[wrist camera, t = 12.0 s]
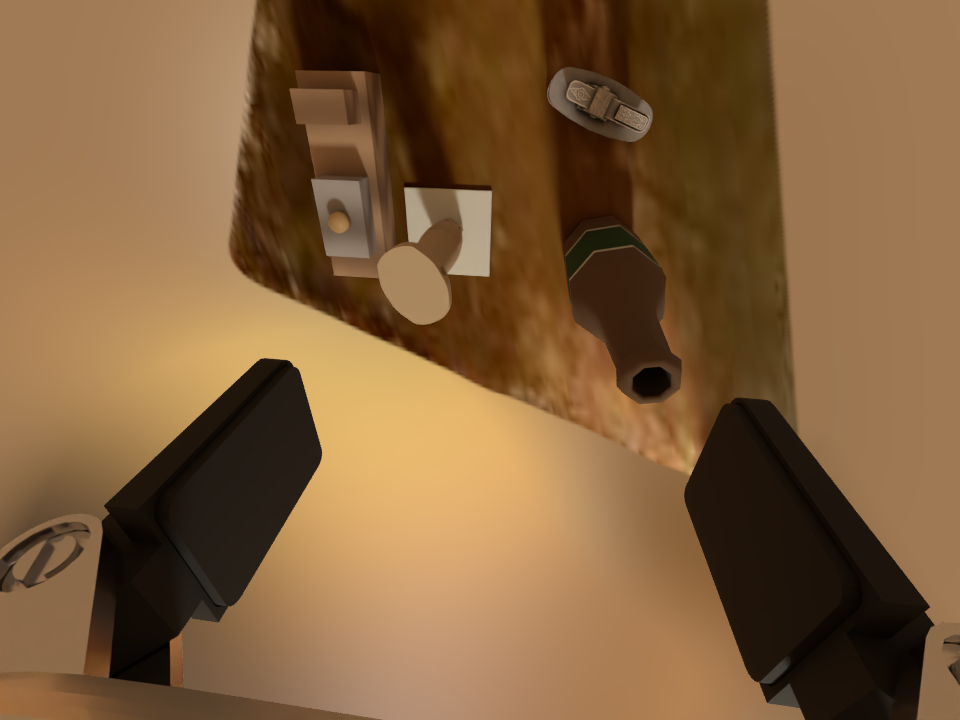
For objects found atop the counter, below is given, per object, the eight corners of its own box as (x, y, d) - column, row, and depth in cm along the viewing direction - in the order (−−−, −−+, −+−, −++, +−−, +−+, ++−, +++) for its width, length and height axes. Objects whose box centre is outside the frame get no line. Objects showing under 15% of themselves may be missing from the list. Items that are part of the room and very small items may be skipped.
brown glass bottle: (551, 275, 45) (563, 418, 25) (574, 204, 40) (611, 307, 20) (619, 291, 45) (686, 446, 25) (649, 221, 40) (759, 342, 20)
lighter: (540, 106, 36) (541, 108, 28) (557, 62, 34) (564, 50, 26) (619, 143, 37) (643, 156, 29) (640, 102, 35) (672, 104, 27)
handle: (445, 267, 45) (410, 332, 33) (415, 214, 42) (364, 263, 30) (483, 250, 44) (461, 310, 31) (454, 193, 41) (418, 235, 28)
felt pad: (405, 187, 41) (404, 187, 41) (492, 190, 40) (491, 191, 40) (412, 270, 46) (411, 271, 46) (489, 275, 45) (489, 276, 45)
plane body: (316, 73, 37) (272, 67, 31) (380, 73, 36) (348, 68, 30) (348, 262, 47) (320, 287, 40) (399, 265, 46) (377, 291, 40)
